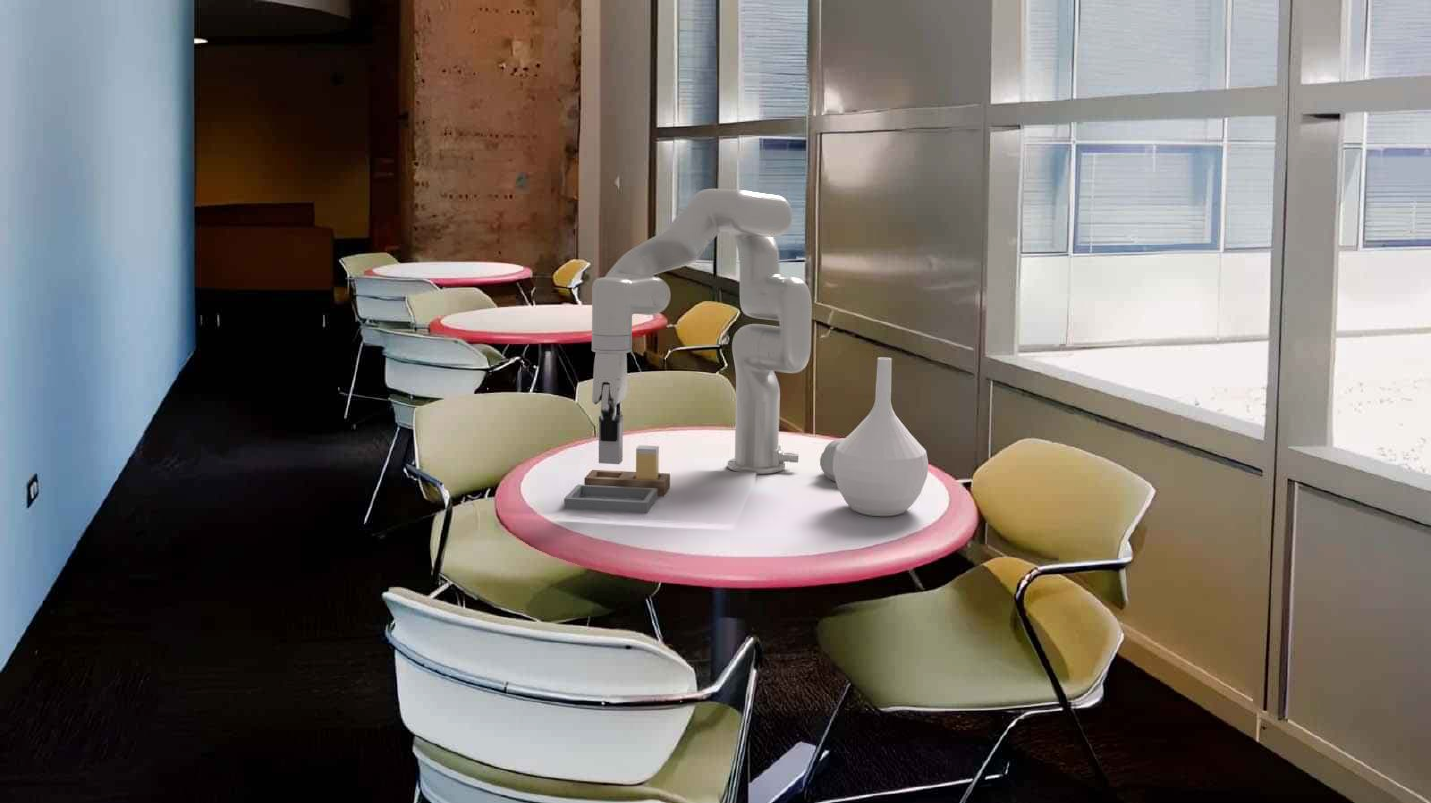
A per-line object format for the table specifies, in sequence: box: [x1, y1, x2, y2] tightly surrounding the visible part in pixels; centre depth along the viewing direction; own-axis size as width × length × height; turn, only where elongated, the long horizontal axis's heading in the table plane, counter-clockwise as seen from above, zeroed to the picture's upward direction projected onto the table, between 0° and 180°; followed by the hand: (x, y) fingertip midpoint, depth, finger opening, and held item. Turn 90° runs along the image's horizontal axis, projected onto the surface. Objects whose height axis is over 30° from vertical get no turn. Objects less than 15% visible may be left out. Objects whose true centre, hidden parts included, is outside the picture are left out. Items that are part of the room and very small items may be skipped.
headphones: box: [819, 437, 846, 482], centre depth 280 cm, size 18×8×20 cm
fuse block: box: [583, 469, 671, 498], centre depth 263 cm, size 16×7×4 cm, turn 82°
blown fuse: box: [598, 414, 624, 465], centre depth 251 cm, size 4×3×9 cm
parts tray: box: [563, 484, 659, 514], centre depth 253 cm, size 16×11×3 cm
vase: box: [833, 356, 929, 517], centre depth 253 cm, size 18×18×30 cm
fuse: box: [635, 444, 660, 480], centre depth 262 cm, size 4×3×9 cm
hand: (610, 438), depth 251 cm, fingers closed on blown fuse, 3 cm apart
